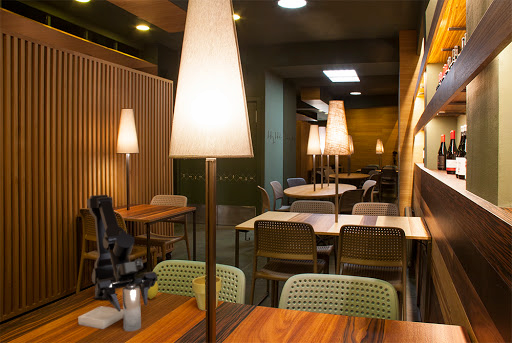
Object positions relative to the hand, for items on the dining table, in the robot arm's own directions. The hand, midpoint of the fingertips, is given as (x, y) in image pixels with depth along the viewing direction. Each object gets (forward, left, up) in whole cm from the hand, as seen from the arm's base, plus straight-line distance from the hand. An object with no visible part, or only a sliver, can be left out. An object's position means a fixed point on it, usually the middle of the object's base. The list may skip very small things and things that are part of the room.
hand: (133, 308), depth 125 cm
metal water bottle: (-1, -1, -7) cm, 7 cm away
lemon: (-24, -11, -7) cm, 27 cm away
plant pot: (-24, +13, -7) cm, 28 cm away
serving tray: (-2, -14, -7) cm, 16 cm away
